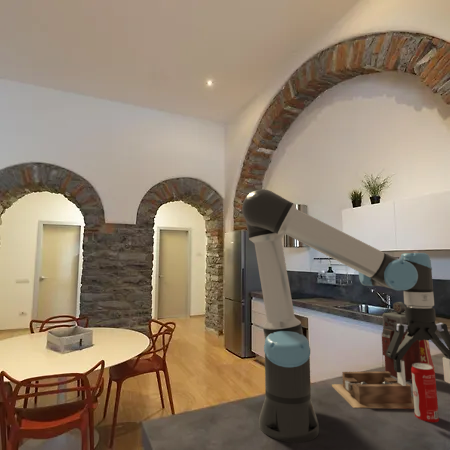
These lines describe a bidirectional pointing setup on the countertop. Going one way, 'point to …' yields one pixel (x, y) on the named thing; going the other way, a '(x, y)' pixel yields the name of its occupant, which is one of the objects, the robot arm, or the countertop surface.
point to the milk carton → (425, 353)
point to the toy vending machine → (412, 352)
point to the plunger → (349, 385)
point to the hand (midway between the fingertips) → (425, 383)
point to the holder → (375, 391)
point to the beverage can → (424, 392)
